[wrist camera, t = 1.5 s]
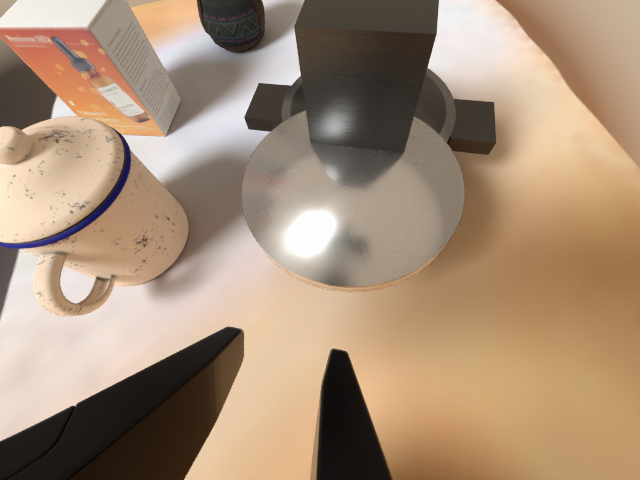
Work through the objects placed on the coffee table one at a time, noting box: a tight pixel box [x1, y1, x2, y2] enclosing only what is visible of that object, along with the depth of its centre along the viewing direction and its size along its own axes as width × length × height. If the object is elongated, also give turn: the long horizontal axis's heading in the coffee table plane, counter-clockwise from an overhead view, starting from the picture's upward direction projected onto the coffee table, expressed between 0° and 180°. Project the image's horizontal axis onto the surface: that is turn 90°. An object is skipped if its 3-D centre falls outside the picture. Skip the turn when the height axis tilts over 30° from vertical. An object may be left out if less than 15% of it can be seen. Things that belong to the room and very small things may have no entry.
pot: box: [244, 68, 496, 155], centre depth 25 cm, size 13×19×6 cm
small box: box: [0, 0, 181, 137], centre depth 27 cm, size 8×6×10 cm
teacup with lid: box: [0, 116, 189, 316], centre depth 19 cm, size 12×9×12 cm
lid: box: [241, 0, 465, 292], centre depth 15 cm, size 13×13×8 cm
